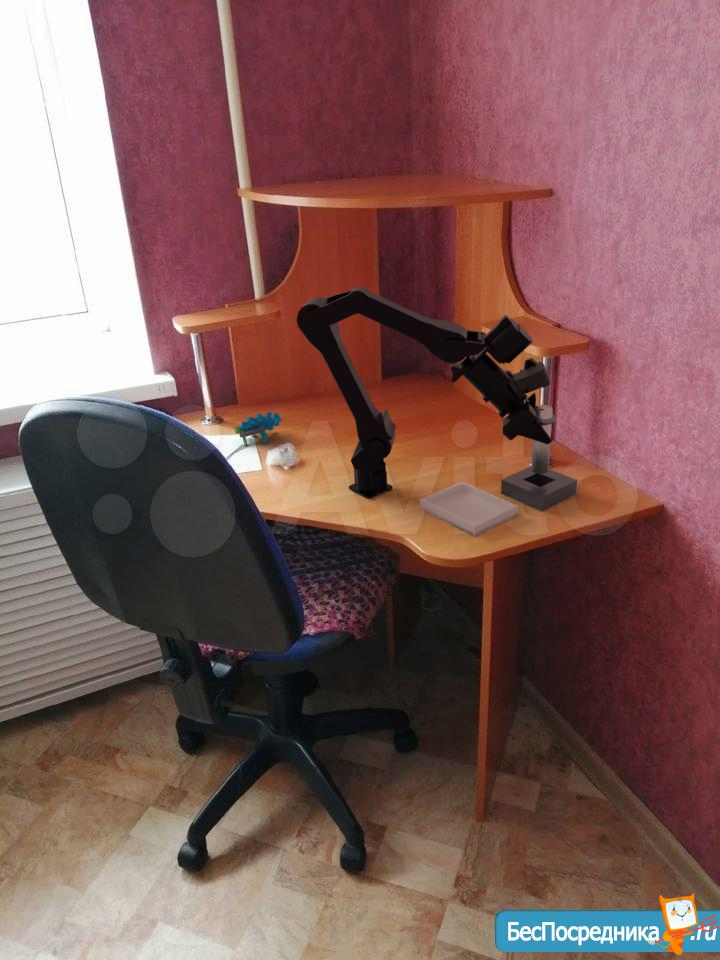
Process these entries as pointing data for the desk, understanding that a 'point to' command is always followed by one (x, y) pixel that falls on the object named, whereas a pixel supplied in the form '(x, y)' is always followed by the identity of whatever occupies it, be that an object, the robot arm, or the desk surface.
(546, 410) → the steel pin
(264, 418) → the blue spiky toy
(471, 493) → the tray
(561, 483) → the hitch block
